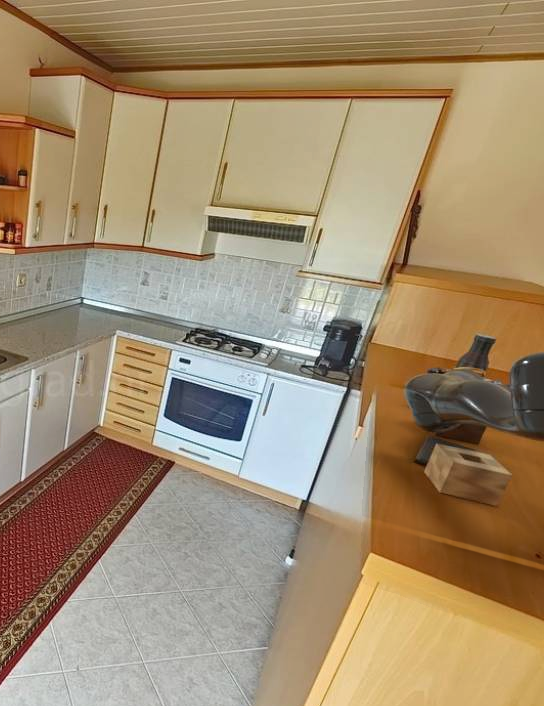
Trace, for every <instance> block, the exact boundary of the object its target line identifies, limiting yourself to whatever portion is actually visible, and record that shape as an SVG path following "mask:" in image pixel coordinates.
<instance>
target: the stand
mask: <svg viewBox="0 0 544 706" xmlns="http://www.w3.org/2000/svg"><path fill="white" fill-rule="evenodd" d="M484 453H485V452H484ZM484 453H479V452H474V451H470V450H465V449H460V448H456V447H451V446H447V445H442V444H437V443H436V445H435V448H434V450H433V452H432V455H431V457H430V459H429V462H428V464H427V466H425V469H424V471H423V472H424V474H425V475H426V477H427V478H428V479H429V480H430V482H431V483H432V484H433V486H434V487H435V488H436V489H437V491H438V492H439V493H440V494H445V495H448V496H451V497H457V498H461V499H465V500H468V501H473V500H474V501H473V502H477V501H478V503H482V504H486V505H489V506H493V507H497V506H498V505H499V503H500V500H501V499H502V497H503V495H504V493H505V491H506V489H507V487H508V485H509V482H510V480H511V479H512V477H513V474H512V473H511V472H510V471H509V470H507V468H505V467H504V466H503V465H502V464H501V463H500V462H499V461H498V460H496V458H495V457H494V458H493V457H492V456H491V455H492V454H490V455H488V454H489V453H487V454H484Z"/></svg>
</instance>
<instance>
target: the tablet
mask: <svg viewBox="0 0 544 706" xmlns="http://www.w3.org/2000/svg"><path fill="white" fill-rule="evenodd" d="M436 443H437V444H442V445H447V446H451V447H456V448H460V449H465V450H470V451H474V452H479V453H484V454H488V455H491V456H492V457H493V458H494V459H495V455H493V454H489V453H487V452H484V451H480V450H477V449H474V448H471V447H468V446H464V445H460V444H457V443H455V442H451V441H448V440H445V439H441V438H438V437H435V436H432V435H428V436H427V437H426V439H425V441H424V443H423V444H422V446H421V448H420V449H419V451H418V453H417V454H416V457H415V458H414V460H413V463H415V464H418V465H421V466H424V467H426V466H427V464H428V462H429V459H430V457H431V455H432V452H433V450H434V448H435V445H436Z"/></svg>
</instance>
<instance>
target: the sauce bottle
mask: <svg viewBox="0 0 544 706" xmlns="http://www.w3.org/2000/svg"><path fill="white" fill-rule="evenodd" d="M496 341H497V338H496V337H493V336H490V335H485V334H480V333H476V334H475V336H474V337H473V342H472V344H471V346H470V348H469V350H468V351H466V353H464V354H463V355H461V356H460V357H459V359H458V360H457V363H456V365H455V366H454V368H453V369H468V370H475V371H480V372H482V376H481V377H482V378H483V379H485V375H486V374H487V371H488V367H489V365H490V361H489V354H490V352H491V349H492V347H493V346H494V344H496Z"/></svg>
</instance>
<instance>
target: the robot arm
mask: <svg viewBox="0 0 544 706" xmlns="http://www.w3.org/2000/svg"><path fill="white" fill-rule="evenodd" d="M508 376H509V379H508V381H509V384H504V382H501V379H495V380H492V379H489V378H482V377H481V376H480V375H479V374H478V373H476V372H474V371H472V370H468V369H454V368H453V369H448V368H446V369H445V370H443V368H441V367H439V366H438V367H437V366H436V367H432V368H428V369H427V371H426V373H423V374H418V375H415V376H414V377H411V378H410V379H408V381H407V382H406V383H405V385H404V388H403V393H404V396H405V397H404V398H405V400H406V401H407V402H406V403H407V405H408V407H409V411H410V413H411V416H412V418H413V421H414V423H415V425H416V426H417V427H418V428H419V429H421V430H423V431H425V432H428V433H433V432H434V433H439V432H445V431H449V430H452V429H454V428H456V427H457V426H459V425H460V424H473V425H482V426H486V428H489V429H493V430H495V431H498V432H502V433H504V434H509V435H512V436H515V437H519V438H523V439H526V440H532V441H536V442H542V443H543V442H544V350H542V351H537V352H533V353H529V354H526V355H524V356H522V357H519V358H517V359H516V360H515V361H514V362H512V364H511V366H510V370H509V375H508ZM434 433H433V434H434Z"/></svg>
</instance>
